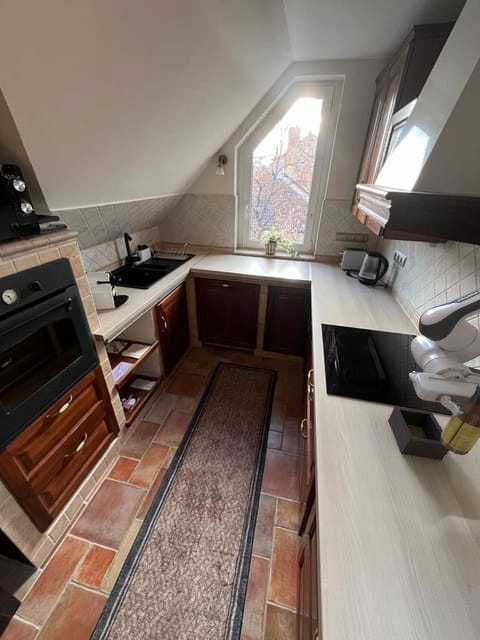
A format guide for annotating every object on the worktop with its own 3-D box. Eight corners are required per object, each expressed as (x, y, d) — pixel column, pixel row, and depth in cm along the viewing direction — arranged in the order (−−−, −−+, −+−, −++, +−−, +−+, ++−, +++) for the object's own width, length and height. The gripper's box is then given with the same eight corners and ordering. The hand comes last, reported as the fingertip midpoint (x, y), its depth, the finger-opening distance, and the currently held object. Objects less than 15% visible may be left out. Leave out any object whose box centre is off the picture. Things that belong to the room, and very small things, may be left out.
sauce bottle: (473, 451, 64) (519, 396, 54) (457, 460, 62) (502, 404, 52) (447, 430, 70) (484, 376, 60) (431, 437, 68) (468, 383, 57)
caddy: (423, 425, 86) (431, 411, 83) (441, 460, 76) (452, 446, 72) (387, 420, 88) (394, 406, 84) (401, 453, 77) (409, 439, 74)
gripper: (410, 362, 71) (434, 400, 59) (492, 372, 68) (534, 414, 56) (402, 379, 74) (423, 418, 62) (480, 389, 71) (518, 432, 59)
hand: (477, 416), depth 59 cm, fingers closed on sauce bottle, 6 cm apart
